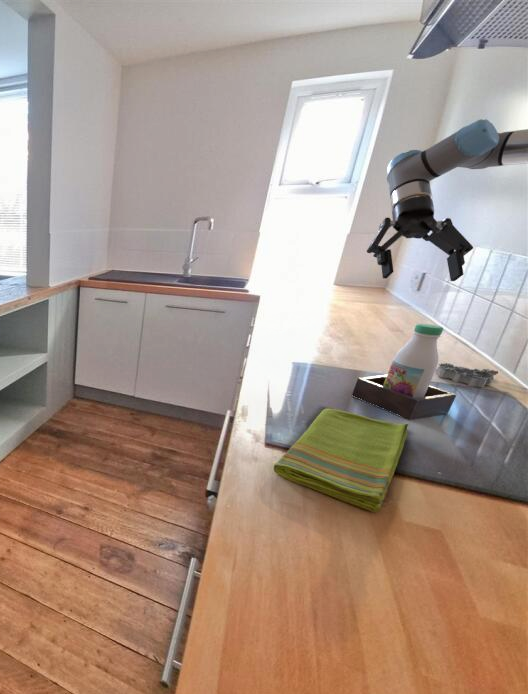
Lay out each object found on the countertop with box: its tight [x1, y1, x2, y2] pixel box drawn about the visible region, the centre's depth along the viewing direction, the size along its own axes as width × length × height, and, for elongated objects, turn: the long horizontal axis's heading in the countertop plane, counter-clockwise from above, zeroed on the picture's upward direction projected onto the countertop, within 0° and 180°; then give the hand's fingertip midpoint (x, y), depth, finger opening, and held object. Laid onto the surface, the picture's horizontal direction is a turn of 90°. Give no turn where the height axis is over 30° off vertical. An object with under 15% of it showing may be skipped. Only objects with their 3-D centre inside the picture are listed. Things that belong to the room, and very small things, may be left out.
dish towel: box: [273, 407, 409, 513], centre depth 80 cm, size 15×36×3 cm, turn 133°
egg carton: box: [435, 362, 499, 389], centre depth 115 cm, size 11×8×4 cm
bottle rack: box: [351, 374, 457, 421], centre depth 100 cm, size 13×12×5 cm
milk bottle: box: [383, 323, 444, 398], centre depth 97 cm, size 8×8×20 cm
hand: (422, 276), depth 98 cm, fingers open, 13 cm apart
